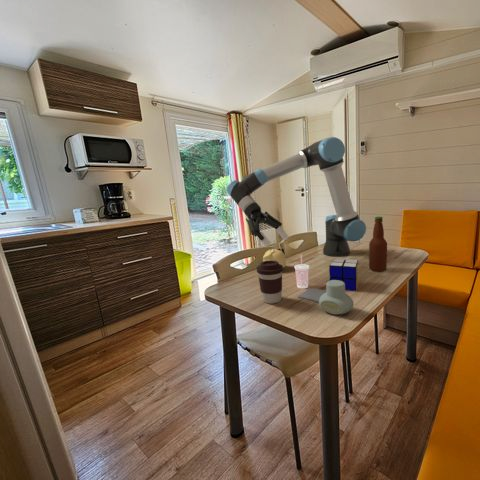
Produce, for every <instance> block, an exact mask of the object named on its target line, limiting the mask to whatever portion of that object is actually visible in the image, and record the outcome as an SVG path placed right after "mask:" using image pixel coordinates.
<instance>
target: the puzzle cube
mask: <svg viewBox="0 0 480 480" xmlns="http://www.w3.org/2000/svg"><path fill="white" fill-rule="evenodd" d="M328 270H329V281H330V280H339V281H342V282H344V283H345V291H352V292H356V291H357V288H358V285H359V259H350V258H348V259H345V258H333V259H332V261H331V262H330V264H329V269H328Z"/></svg>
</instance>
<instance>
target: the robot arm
mask: <svg viewBox="0 0 480 480" xmlns="http://www.w3.org/2000/svg"><path fill="white" fill-rule="evenodd" d="M343 142H344V141H342V140H341V139H340V138H339V137H335V136H330V137H326V138H324V139H321V140H319V141H316V142H313V143H312V144H310V145H309V146H307V147H305V148H304V149H301V150H298V153H297V154H295V155H291V156H290V157H287V158H285V159H282V160H279V161H277V162H275V163H273V164H271V165H269V166H268V165H267V166H265V167H263V168H258V169H256V170H254V171H253V172H251V173H249V174H245V175H244V176H243V177H242V178H241V181H240V180H237V179H235V180H232V181H230V182H229V183H228V184H227V187H226V191H227V193H228V195H229V196H230V198H231V199H232V200H233V201H234V202H235V203H236V205H237V206H238V207H239V208H240V210H241V211H242V212H243V213H244V215H245V216H246V218H245V221H246V223H247V225H248V228H249V232H250V234H251V236H254V237H255V238H256V237H257V238H258V239H259V240H260V241H261V242H262V243H263V245H264V246H265V247H266V248H268V247H269V246H270V245H271V243H272V242H271V241H270V240H269V239H268V237H267V236H266V235H265V233H264V232H263V231H261V228H260V224H266V225H268V226H270V227H272V228H274V229H275V231H276V232H277V234H278V235H279V236H280V237H281V238H282V240H283V241H286V240H287V239H288V238H289V235H288V234H287V233H286V231H285V230H284V229H283V227H281V226H282V225H283V224H282V222H281V221H280V220H278V219H276V218H275V217H273V216H272V215H271V214H270V213H269V212H268V211H265V212H262V207H261V206H260V205H259V204H258V203H257V202H256V200H255V199H254V197H253V196H251V194H253V193H254V192H256V190H258V189H260V188H261V187H262V186H264V185H265V184H266V183H269V182H271V181H273V180H275V179H277V178H281V177H283V176H286V175H288V174H290V173H292V172H296V171H297V170H300V169H302V168H303V169H307V168H309V167H313V166H318V168H319V171H320V172H323V174H324V176H325V180H326V183H327V186H328V190H329V194H330V197H331V201H332V203H333V208H334V210H335V214H332V215H331V214H330V215H326V217H325V220H324V221H325V223H324V224H325V242H324V246H323V249H322V250H323V251H322V254H323V255H325V256H329V257H346V256H349V255H351V249H350V245H349V242H354V243H355V242H358V241H360V240H361V239H363V238H364V236H365V234H366V232H367V224H366V223H365V221H363V220H361V218H360V216H359V213H358V211H355V210H354V206H353V203H352V199H351V195H350V193H349V188H348V185H347V181H346V177H345V174H344V170H343V164H344V162H345V161H344V156H345V155H344V154H345V152H346V147H345V144H344V143H343Z"/></svg>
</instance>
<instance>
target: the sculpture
mask: <svg viewBox="0 0 480 480" xmlns="http://www.w3.org/2000/svg"><path fill="white" fill-rule="evenodd" d="M270 260H271V261H277V262H278V263H279V264H281V265H282V266H283V269H285V267H286V265H287V258H286V254H285V253H284V252H283V251H281V250H279V249H276V248H272V249H268V250H266V252H265V253H264V255H263V257H262V262H264V261H270Z"/></svg>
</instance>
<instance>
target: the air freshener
mask: <svg viewBox="0 0 480 480" xmlns="http://www.w3.org/2000/svg"><path fill="white" fill-rule="evenodd" d="M325 285H326V286H325V288H326V289H325V291H326V293H324V294H323V295H322V296H321V297H320V299H319V303H318V305H319V306H320V308H321V309H322V310H323V311H324V312H327V313H329V314H331V315H344V314H347V313H348V312H350V311H352V309H353V307H354V300H353V299H352V297H351V296H350V295H349V294H347V293H346V290H345V283H344V282H342V281H339V280H330V279H329V280H328V281H326V283H325Z"/></svg>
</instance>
